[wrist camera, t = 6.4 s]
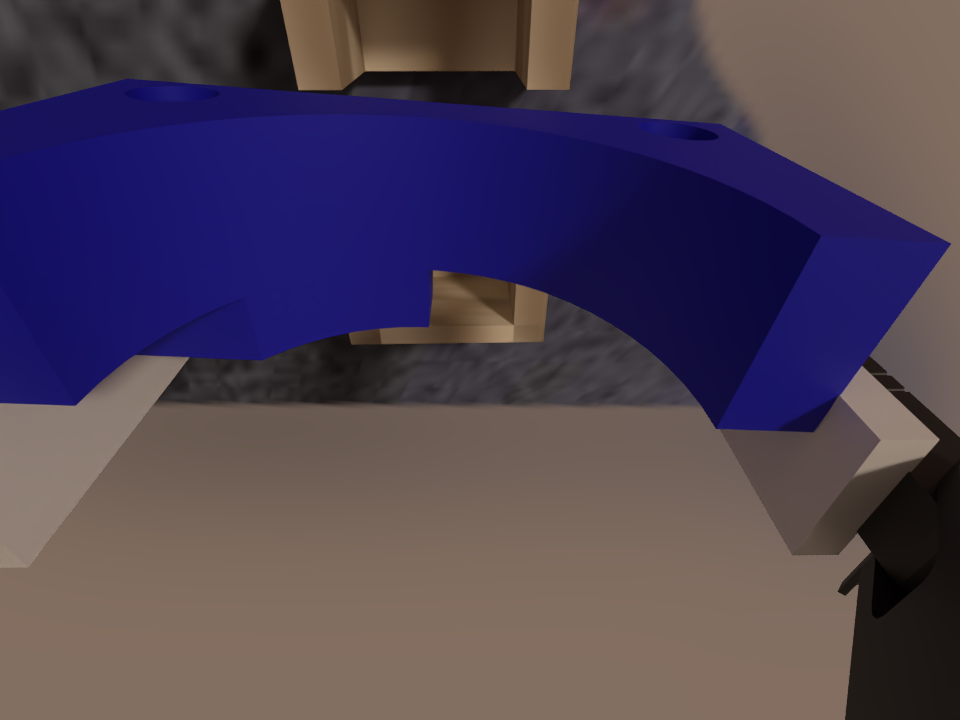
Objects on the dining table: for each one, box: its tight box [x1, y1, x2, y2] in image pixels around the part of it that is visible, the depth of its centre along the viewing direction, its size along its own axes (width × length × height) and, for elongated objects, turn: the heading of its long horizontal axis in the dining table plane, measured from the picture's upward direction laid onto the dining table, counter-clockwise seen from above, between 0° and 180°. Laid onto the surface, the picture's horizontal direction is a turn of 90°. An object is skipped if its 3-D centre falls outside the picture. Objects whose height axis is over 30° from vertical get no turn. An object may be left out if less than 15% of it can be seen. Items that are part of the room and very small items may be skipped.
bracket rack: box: [280, 0, 579, 345], centre depth 21 cm, size 10×16×6 cm, turn 0°
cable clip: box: [0, 79, 951, 432], centre depth 9 cm, size 12×4×6 cm, turn 86°
